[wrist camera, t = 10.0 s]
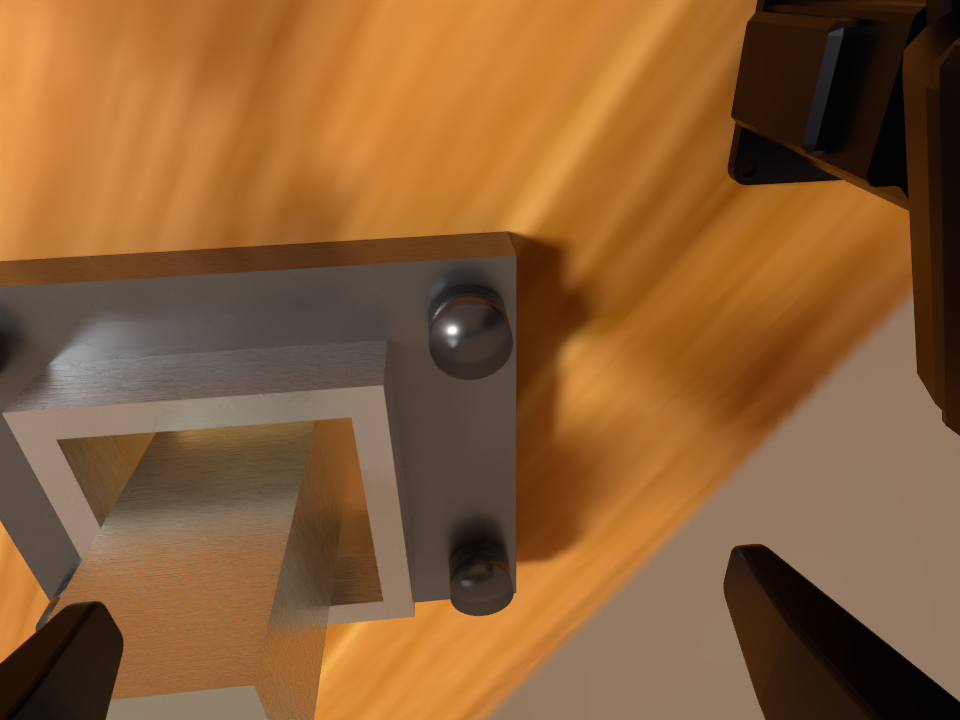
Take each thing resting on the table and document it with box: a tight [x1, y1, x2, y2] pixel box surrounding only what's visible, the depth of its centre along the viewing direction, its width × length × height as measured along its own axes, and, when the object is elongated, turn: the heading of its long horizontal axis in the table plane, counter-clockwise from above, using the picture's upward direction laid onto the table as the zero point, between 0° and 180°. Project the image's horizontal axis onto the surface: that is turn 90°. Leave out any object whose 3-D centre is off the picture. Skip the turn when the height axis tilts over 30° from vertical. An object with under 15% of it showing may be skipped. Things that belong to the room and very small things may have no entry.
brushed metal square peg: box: [46, 420, 341, 720], centre depth 18 cm, size 5×6×9 cm
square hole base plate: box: [0, 232, 517, 632], centre depth 21 cm, size 18×15×4 cm
